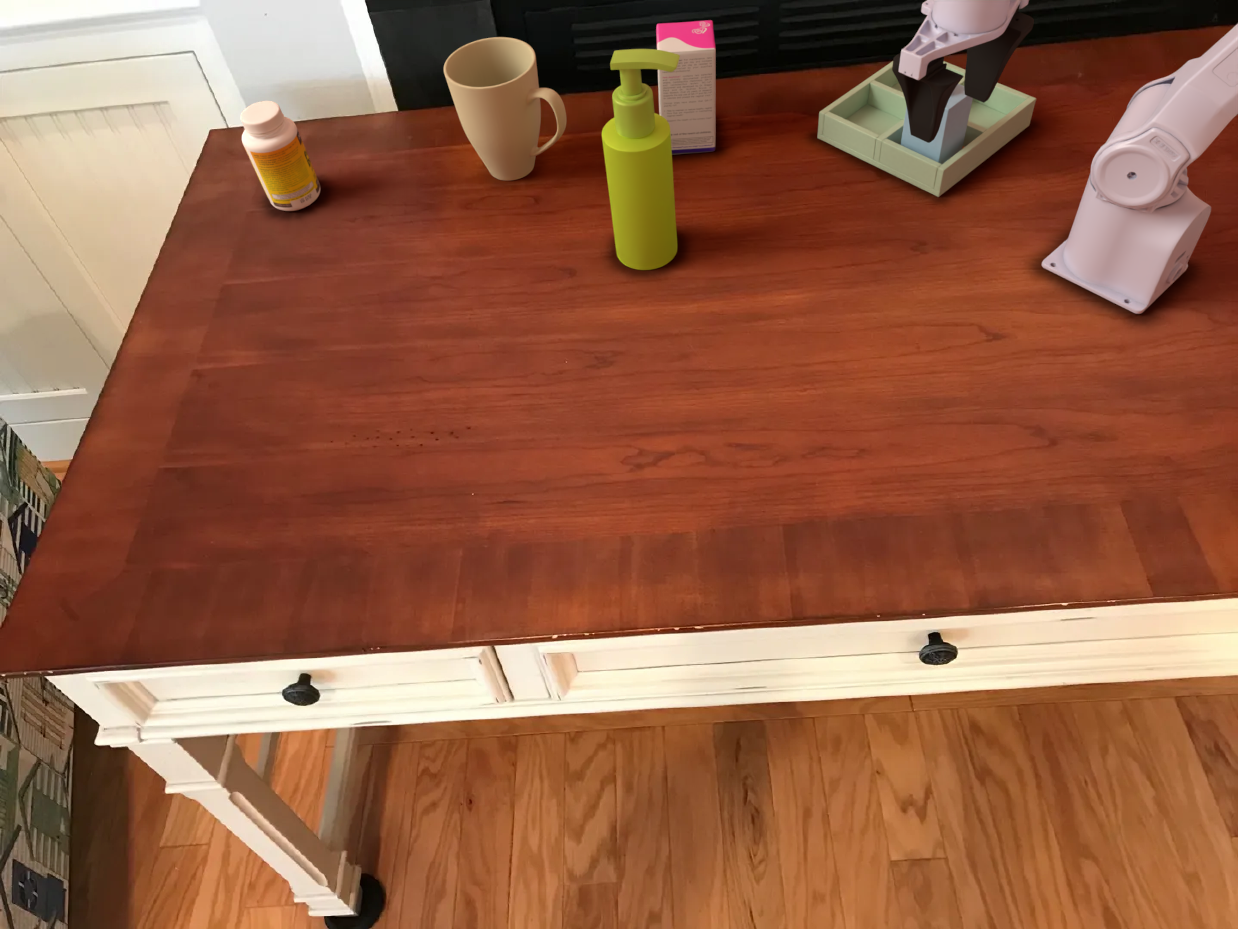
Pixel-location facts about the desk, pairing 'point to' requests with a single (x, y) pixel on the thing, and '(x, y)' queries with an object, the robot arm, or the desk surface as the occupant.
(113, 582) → the desk surface
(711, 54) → the supplement box
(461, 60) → the mug
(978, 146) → the tray
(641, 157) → the soap dispenser
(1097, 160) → the robot arm
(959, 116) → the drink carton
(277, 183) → the supplement bottle
